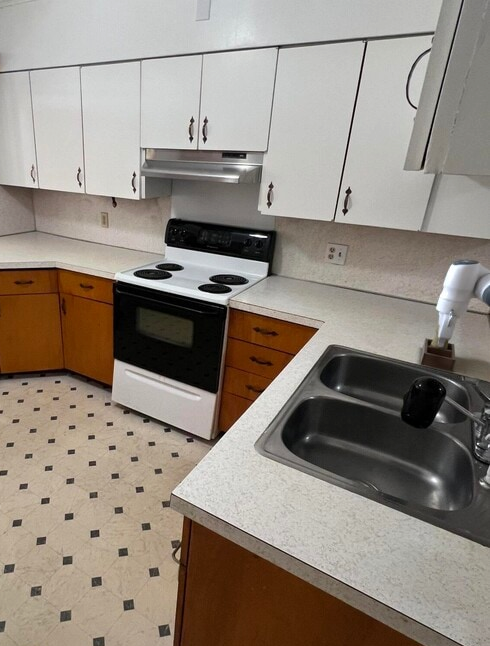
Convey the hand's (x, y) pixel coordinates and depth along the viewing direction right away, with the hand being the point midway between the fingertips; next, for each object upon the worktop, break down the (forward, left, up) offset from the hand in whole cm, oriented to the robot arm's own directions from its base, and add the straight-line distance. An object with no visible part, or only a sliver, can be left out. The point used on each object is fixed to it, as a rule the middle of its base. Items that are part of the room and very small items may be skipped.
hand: (440, 343), depth 151 cm
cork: (0, 0, -4) cm, 4 cm away
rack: (0, +4, -5) cm, 7 cm away
